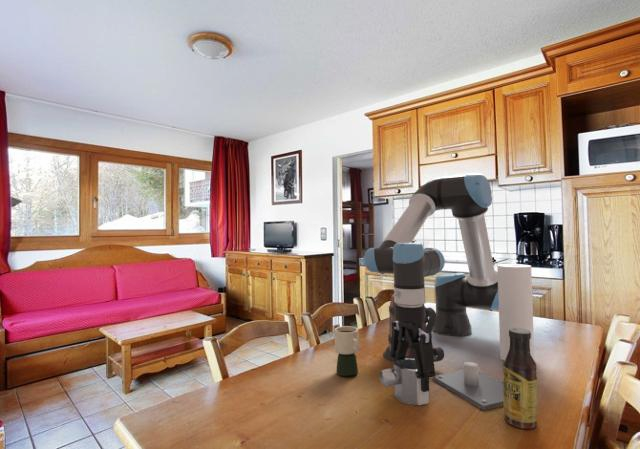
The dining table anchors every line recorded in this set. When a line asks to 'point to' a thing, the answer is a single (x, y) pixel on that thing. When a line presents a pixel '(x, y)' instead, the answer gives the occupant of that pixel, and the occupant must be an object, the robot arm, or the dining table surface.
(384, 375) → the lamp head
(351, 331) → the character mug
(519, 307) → the cylinder container
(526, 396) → the sauce bottle
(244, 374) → the dining table surface
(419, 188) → the robot arm
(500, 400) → the grey peg base plate
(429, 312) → the tankard
